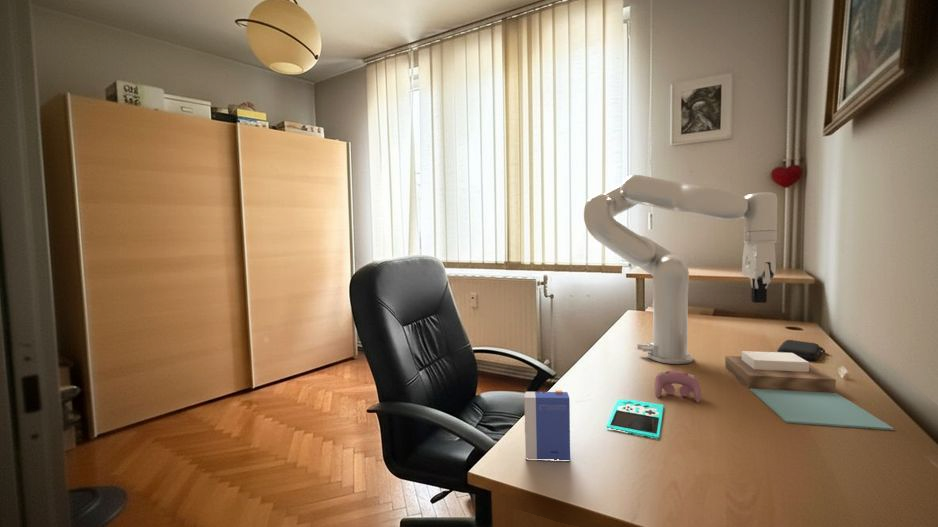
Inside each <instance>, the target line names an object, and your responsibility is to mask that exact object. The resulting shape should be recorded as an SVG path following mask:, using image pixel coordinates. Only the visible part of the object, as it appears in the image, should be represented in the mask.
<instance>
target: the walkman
mask: <svg viewBox="0 0 938 527" xmlns="http://www.w3.org/2000/svg"><path fill="white" fill-rule="evenodd" d="M570 402H571V401H570V395H569V392H568V391H563V390H558V389H557V390H555V391H525V394H524V396H523V414H524V440H525V441H524V442H525V459H526V458H528V459H554V460H557V459H559V460H570V461H571V426H570V425H571V423H570V422H571V420H570V417H571V416H570V415H571V412H570V411H571V410H570V405H571V404H570Z"/></svg>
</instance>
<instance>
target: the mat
mask: <svg viewBox="0 0 938 527" xmlns="http://www.w3.org/2000/svg"><path fill="white" fill-rule="evenodd" d="M749 390H750V391H751V393H752V394H753V395H754V396H756V397H757V398H758V399H759V400H760V401H761V402H763V404H765V405H766V406H767V407H768V408H770V410H771V411H773V412H774V413H775V414H776V415H777V416H778V417H780V419H781V420H782V421H784V422H785V423H787V424H798V425H799V424H800V425H814V426H815V425H816V426H826V427H827V426H828V427H829V426H830V427H840V428H841V427H842V428H857V429H858V428H859V429H869V428H870V430H872V429H873V430H883V431H885V430H886V431H894V430H895V429H894V427H892V426H890V425H889V424H888V423H886V422H885V421H882V420H881V419H879V418H877V417H876V415H875V416H874V415H873V414H872V413H870V412H868V411H866V410H865V409H863V408H862V407H860V406H859V405H857V404H855V403H853V402H852V401H850V400H849V399H847V398H845V397H844V396H842V395H840V394H839V393H837V392H835V393H825V392H807V391H789V390H770V389H752V388H750V389H749Z"/></svg>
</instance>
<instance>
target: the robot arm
mask: <svg viewBox="0 0 938 527" xmlns="http://www.w3.org/2000/svg"><path fill="white" fill-rule="evenodd" d="M637 205H643V206H649V207H652V208H657V209H662V210H666V211H671V212H678V213H679V212H681V213H683V212H685V213H686V212H687V213H693V214H699V215H704V216H710V217H714V218H716V219H718V220H720V221H727V222H729V221H735V220H739V219H740V220H741V219H743V243H744V245H743V252H742V262H741V263H742V264H741V265H742V266H741V274H742V275H743V276H745V277H747V278H748V279H749V280H750V287H751V290H750V291H751V292H750V293H751V294H750V295H751V296H750V301H751V302H752V303H761V304H763V303H764V304H765V303H767V299H768V298H767V295H768V292H767V290H768V286H769V284H771V279H774V278H775V276H776V269H777V267H776V265H777V263H776V262H777V261H776V258H777V257H776V249H775V248H776V247H775V244H776V243H777V239H778V238H777V237H778V236H777V234H778V233H777V232H778V231H777V230H778V229H777V227H778V223H777V222H778V196H777V194H776V193H774V192H754V193H750V194H749V193H748V194H746V195H742V194H740V193H739V192H734V191H732V190H724V189H720V188H719V189H718V188H714V187H707V186H702V185H695V184H691V183H686V182H679V181H673V180H668V179H663V178H662V179H661V178H658V177H652V176H646V175H643V174H642V175H641V174H631V175H629V176H627V177H624V179H623V181H622V183H621V184H619V185H618V186H616V187H614V188H613V189H611V190H609V191H607V192H605V193H595V194H593V195H591V196H590V197H589V198H588V199H587V200H586V202H585V204H584V209H583V220H584V224H585V227H586V229H587V231H588V232H589V234H590V235H591V237H593V238H594V239H595V240H596V241H597V242H599V243H600V244H602V245H603V246H604V247H606V248H608V249H609V250H610V251H611V252H613V253H614V254H616V255H618V256H619V257H621V258H622V259H624V260H625V261H626V262H627V263H628V264H630V265H632V266H634V267H637V268H640V269H641V270H643V271H644V272H646V273H648V274H649V275H650V276H652V340H650V343H647V344H643V343H637V344H636V350H637V351H642V352H644V353H645V352H647V357H648V358H649V359H650V360H652V361H655V362H659V363H663V364H671V365H685V364H690V363H692V362H693V361H694V356H693V355H692V354H691V353H689V352H688V326H689V325H688V321H689V318H688V317H689V316H688V312H689V309H688V305H689V303H688V302H689V301H688V300H689V298H688V297H689V283H690V282H689V281H690V273H689V272H690V271H689V268H688V265H687V263H686V262H685V261H684V260H683V259H682V258H681V257H679V256H678V255H676V254H675V253H673V252H671V251H670V250H668V249H666V248H665V247H663V246H662V245H661V244H658V243H657V242H655V241H654V240H652V239H650V238H648V237H646V236H643V235H640V234H638V233H636V232H634V231H633V230H632V229H630V228H628V227H626V226H625V225H623V224H622V223H621V222H619V221H617V220H616V218H614V217H616V216H618V215H620V214H622V213H624V212H625V211H629V210H630V209H631V208H633V207H635V206H637Z"/></svg>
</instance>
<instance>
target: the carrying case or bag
mask: <svg viewBox="0 0 938 527" xmlns="http://www.w3.org/2000/svg"><path fill="white" fill-rule="evenodd" d="M776 352H782V353H793V354H795V355H797V356H799V357H801V358H802V359H804V360H806V361H808V362H814V361H815V360H818V359H819V357H820V355H821V353H824V354H826V349H825V348H824V347H821V346H820V345H819V343H818V344H817V343H814V342H808V341H800V340H793V339H787V340H785V341H784V342H782V343H781V345H780V346H779V347H778V348H777V350H776Z"/></svg>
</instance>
